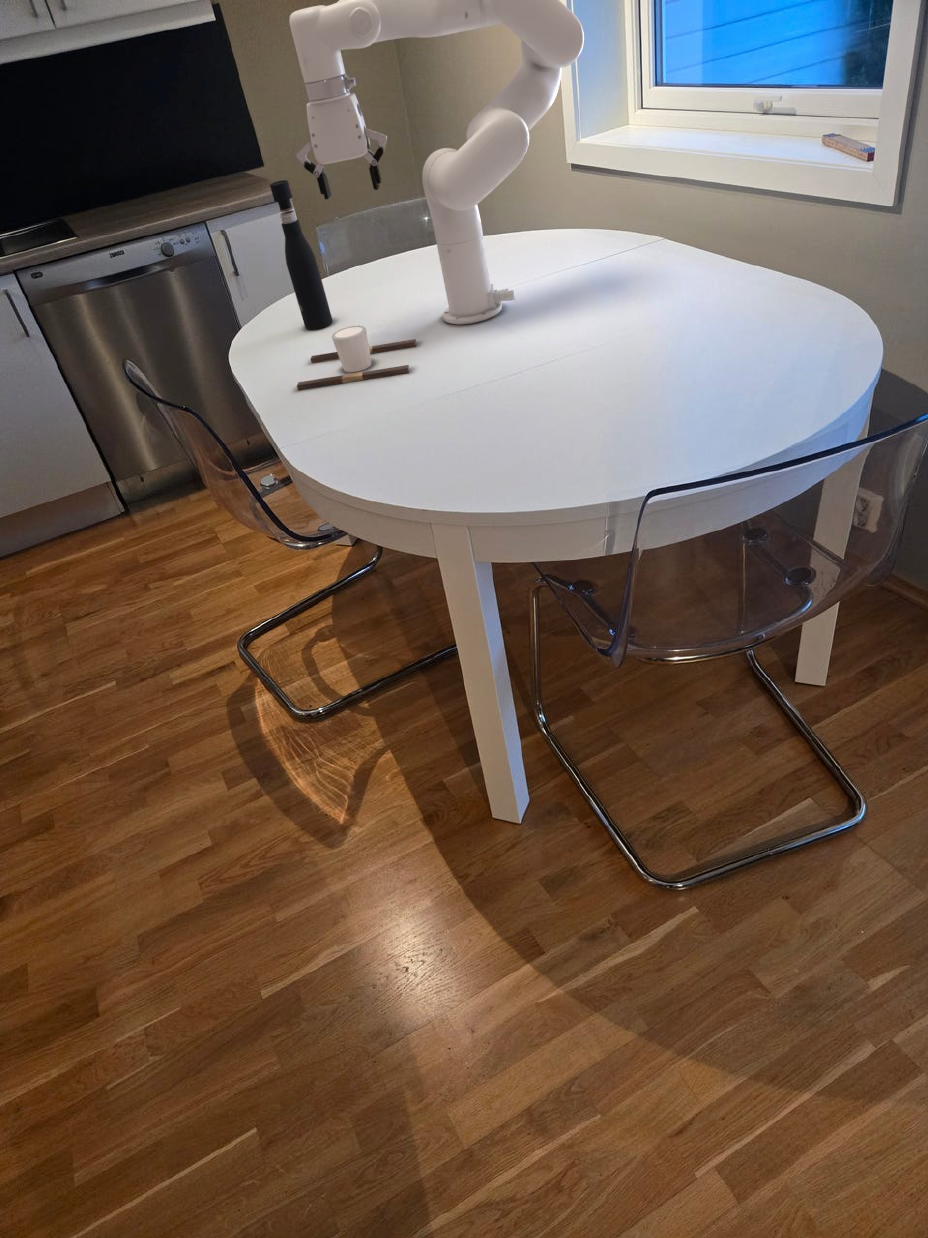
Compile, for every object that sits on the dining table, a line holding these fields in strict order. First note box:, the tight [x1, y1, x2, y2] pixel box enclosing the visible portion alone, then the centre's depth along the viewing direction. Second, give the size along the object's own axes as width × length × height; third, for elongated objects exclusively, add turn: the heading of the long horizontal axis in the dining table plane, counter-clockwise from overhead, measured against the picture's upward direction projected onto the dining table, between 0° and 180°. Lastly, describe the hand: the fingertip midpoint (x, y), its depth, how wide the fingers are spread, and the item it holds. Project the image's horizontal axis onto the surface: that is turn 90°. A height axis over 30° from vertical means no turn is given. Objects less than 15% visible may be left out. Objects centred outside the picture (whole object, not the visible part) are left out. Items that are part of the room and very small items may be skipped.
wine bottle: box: [269, 179, 334, 331], centre depth 190 cm, size 6×6×30 cm
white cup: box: [331, 325, 372, 373], centre depth 171 cm, size 7×7×7 cm
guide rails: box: [296, 338, 417, 391], centre depth 173 cm, size 22×15×1 cm
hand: (352, 192), depth 166 cm, fingers open, 9 cm apart
